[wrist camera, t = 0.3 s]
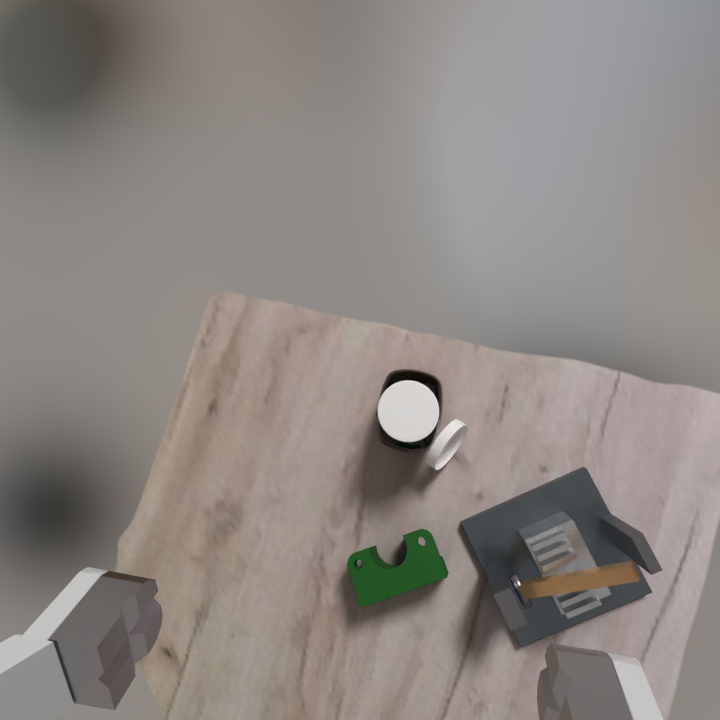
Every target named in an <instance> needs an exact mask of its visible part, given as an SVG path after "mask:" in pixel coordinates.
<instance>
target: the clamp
mask: <svg viewBox="0 0 720 720" xmlns="http://www.w3.org/2000/svg"><path fill="white" fill-rule="evenodd" d="M403 537H404V539H405V541H406V544H407V555H406V558H405V560H404V561H403V563H402V564H400V565H389V564H387V563H385V562H384V561H383V560H382V559H381V558H380V556H379V555H378V552H377V548H376V546H373V547H370V548H367V549H364V550H362V551H359V552H356V553H354V554H352V555H351V556H350V557H349V559H348V563H347V566H348V570H349V574H350V577H351V580H352V584H353V587H354V590H355V594H356V597H357V601H358V604H359V607H360V608H361V607H364V606H367V605H370V604H373V603H376V602H379V601H381V600H384V599H387V598H390V597H393V596H396V595H399V594H401V593H404V592H407V591H410V590H413V589H416V588H419V587H421V586H424V585H427V584H430V583H433V582H436V581H439V580H441V579H444V578H447V576H448V570H447V568H446V565H445V562H444V560H443V557H442V556H440V555H439V552H438V549H437V547H436V544H435V541H434V539H433V536H432V534H431V533H430V532H429V531H427V530H424V529H420V530H417V531H414V532H411V533H408V534H406V535H403ZM419 537H423V538H424V539H425V541H426V543H425V545H424V546H420V545H419V544H418V538H419ZM357 560H361V561H362V563H363V566H362V568H359V567H358V566H357Z"/></svg>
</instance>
